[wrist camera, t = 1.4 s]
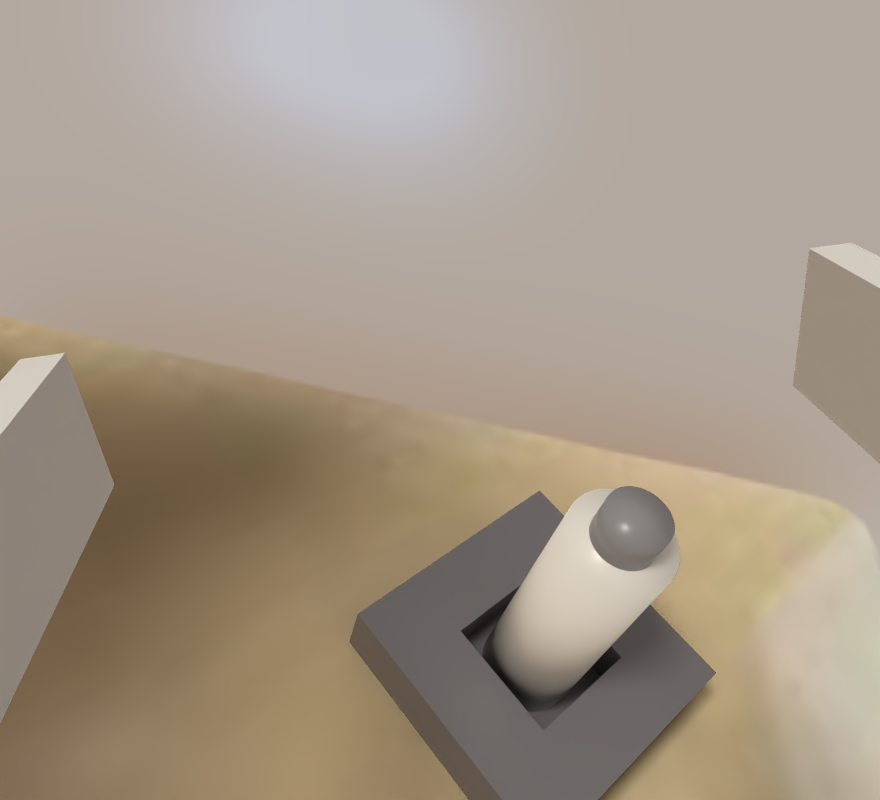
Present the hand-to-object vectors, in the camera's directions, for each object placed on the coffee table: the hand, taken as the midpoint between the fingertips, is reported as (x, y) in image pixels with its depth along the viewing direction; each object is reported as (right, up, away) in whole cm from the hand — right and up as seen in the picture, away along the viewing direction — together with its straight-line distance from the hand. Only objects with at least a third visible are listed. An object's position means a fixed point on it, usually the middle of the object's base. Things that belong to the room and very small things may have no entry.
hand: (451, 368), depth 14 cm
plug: (+4, -13, +23) cm, 27 cm away
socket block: (+4, -14, +24) cm, 28 cm away
